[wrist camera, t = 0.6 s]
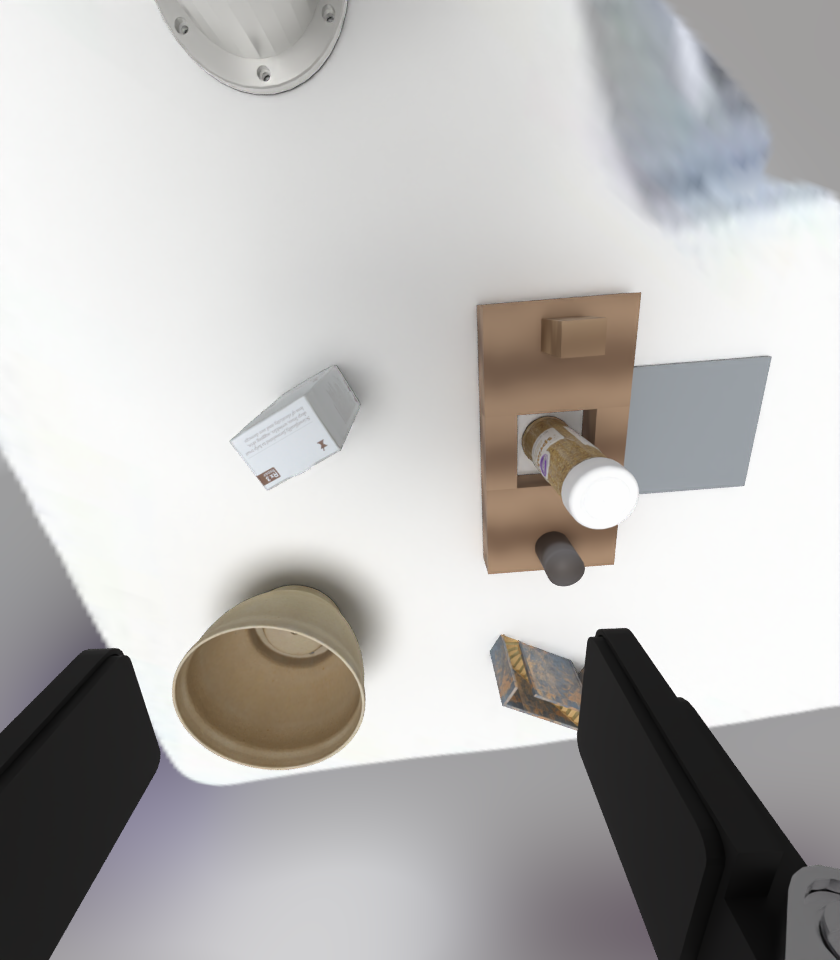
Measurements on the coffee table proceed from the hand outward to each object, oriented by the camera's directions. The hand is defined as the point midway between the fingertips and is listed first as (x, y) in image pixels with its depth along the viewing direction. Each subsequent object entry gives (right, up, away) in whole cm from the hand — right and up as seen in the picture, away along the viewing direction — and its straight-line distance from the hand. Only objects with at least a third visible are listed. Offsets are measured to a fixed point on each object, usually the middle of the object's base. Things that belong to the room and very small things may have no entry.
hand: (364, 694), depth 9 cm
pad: (+26, +9, +32) cm, 42 cm away
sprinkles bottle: (+13, +8, +32) cm, 35 cm away
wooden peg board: (+13, +8, +32) cm, 35 cm away
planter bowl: (-12, -10, +39) cm, 42 cm away
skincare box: (-8, +11, +30) cm, 33 cm away
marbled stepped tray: (+15, -16, +42) cm, 47 cm away
